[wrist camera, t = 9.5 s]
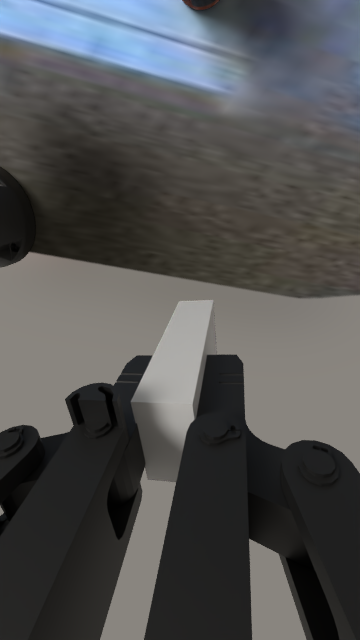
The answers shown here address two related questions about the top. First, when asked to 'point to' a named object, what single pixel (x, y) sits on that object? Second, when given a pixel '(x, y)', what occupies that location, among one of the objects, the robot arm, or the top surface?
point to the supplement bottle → (200, 4)
